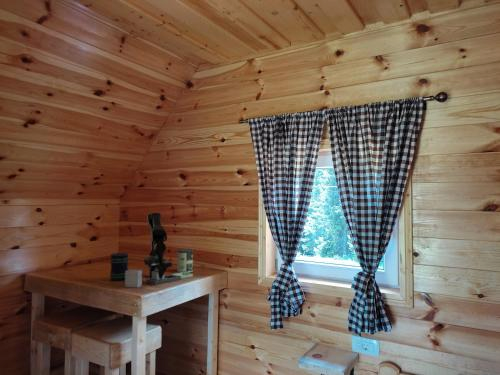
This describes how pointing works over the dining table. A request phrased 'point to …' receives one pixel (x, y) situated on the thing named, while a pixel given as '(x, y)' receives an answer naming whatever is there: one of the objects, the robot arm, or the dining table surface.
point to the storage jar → (118, 266)
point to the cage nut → (156, 275)
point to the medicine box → (133, 278)
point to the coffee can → (185, 260)
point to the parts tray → (183, 275)
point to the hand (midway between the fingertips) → (158, 278)
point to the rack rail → (164, 280)
